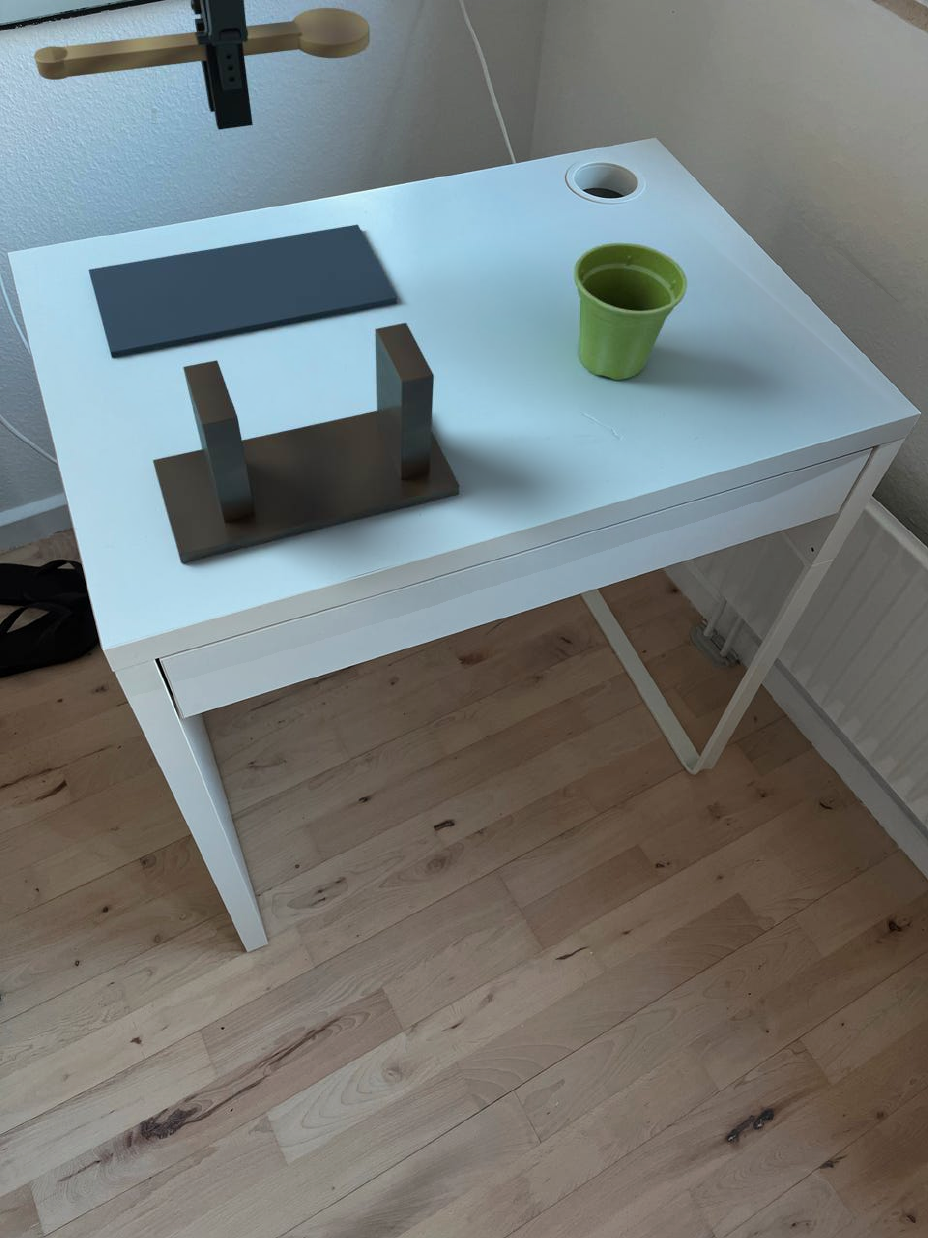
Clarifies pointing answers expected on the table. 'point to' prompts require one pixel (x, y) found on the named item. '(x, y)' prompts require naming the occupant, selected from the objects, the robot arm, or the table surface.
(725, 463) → the table surface
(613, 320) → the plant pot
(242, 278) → the mat
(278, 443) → the rack
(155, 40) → the ladle
